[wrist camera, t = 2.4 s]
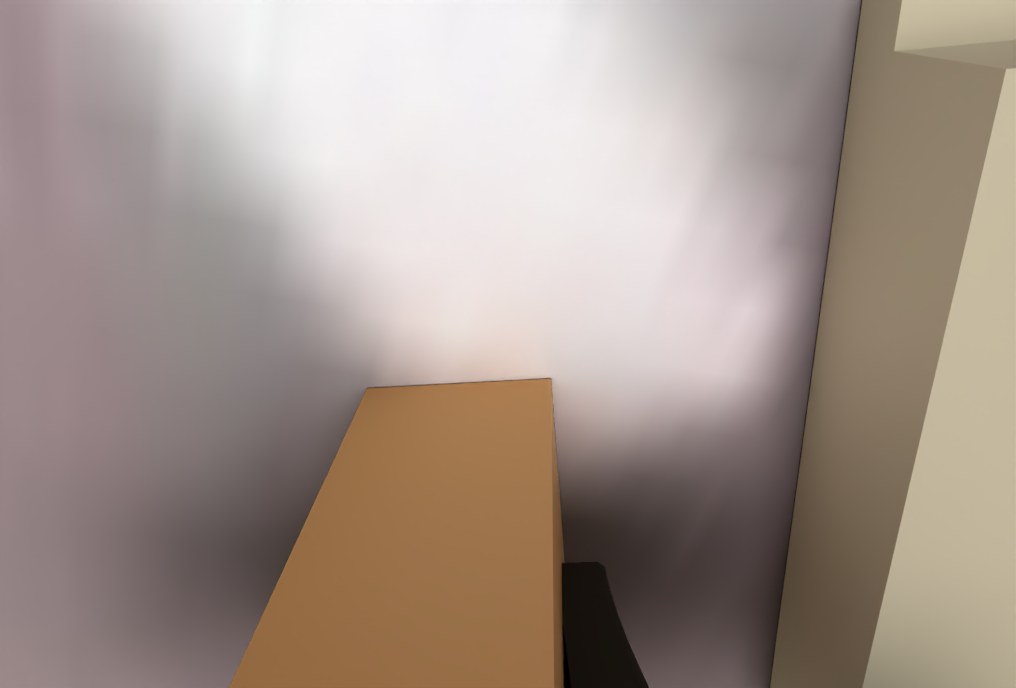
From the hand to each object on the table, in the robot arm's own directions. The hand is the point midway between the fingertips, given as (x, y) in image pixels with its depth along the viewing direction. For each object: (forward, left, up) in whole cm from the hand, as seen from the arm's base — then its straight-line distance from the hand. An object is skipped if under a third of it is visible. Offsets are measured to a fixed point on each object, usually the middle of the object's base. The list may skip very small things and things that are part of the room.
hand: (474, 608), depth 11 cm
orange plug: (0, 0, -1) cm, 1 cm away
